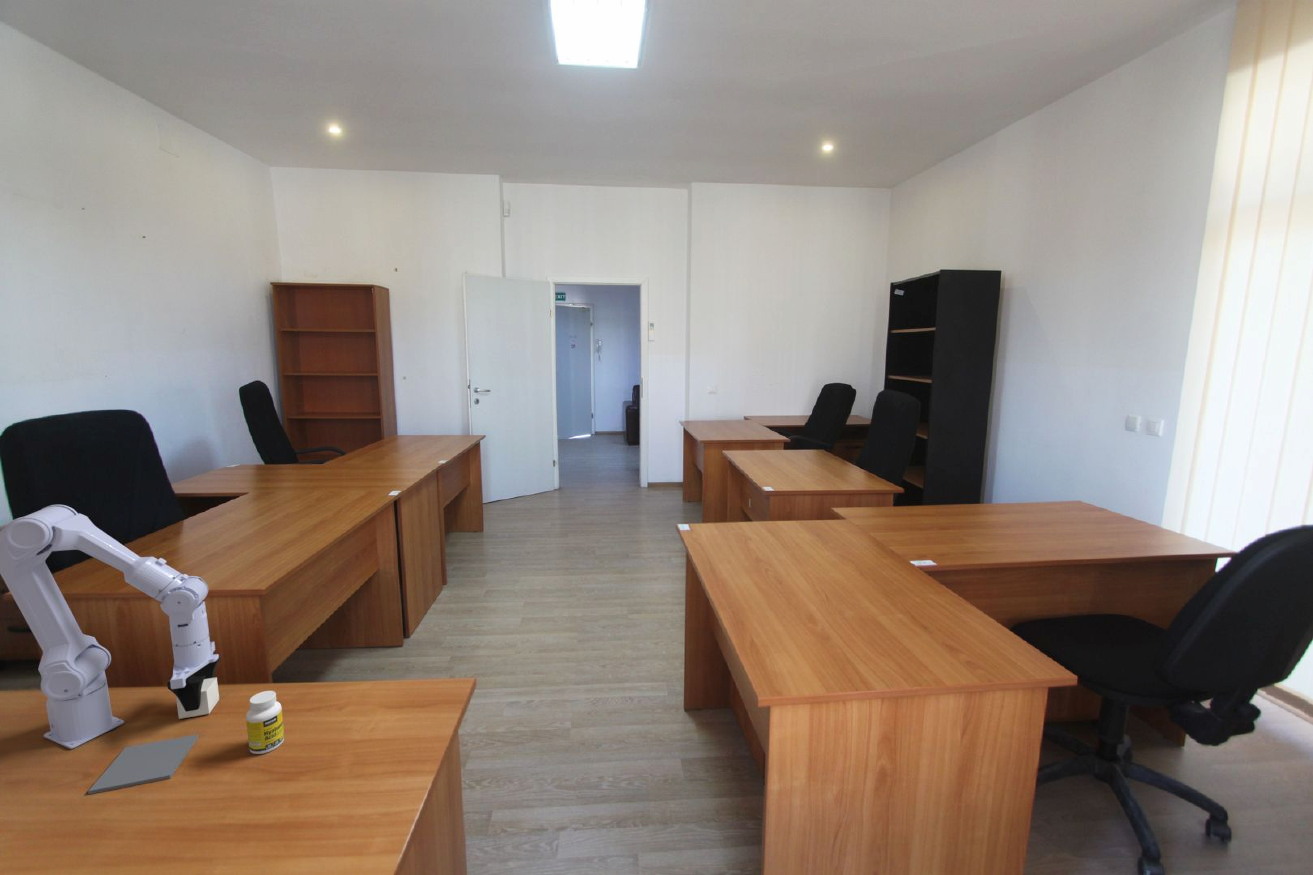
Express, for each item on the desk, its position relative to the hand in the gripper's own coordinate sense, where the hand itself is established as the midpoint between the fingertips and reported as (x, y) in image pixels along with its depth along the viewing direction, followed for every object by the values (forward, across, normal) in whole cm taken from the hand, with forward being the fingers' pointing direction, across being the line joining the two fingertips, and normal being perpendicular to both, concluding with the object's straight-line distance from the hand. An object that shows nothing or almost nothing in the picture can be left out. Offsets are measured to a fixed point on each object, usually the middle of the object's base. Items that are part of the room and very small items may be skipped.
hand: (198, 701), depth 113 cm
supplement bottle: (+2, -16, -16) cm, 23 cm away
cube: (+2, 0, 0) cm, 2 cm away
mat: (+2, -15, +2) cm, 15 cm away
